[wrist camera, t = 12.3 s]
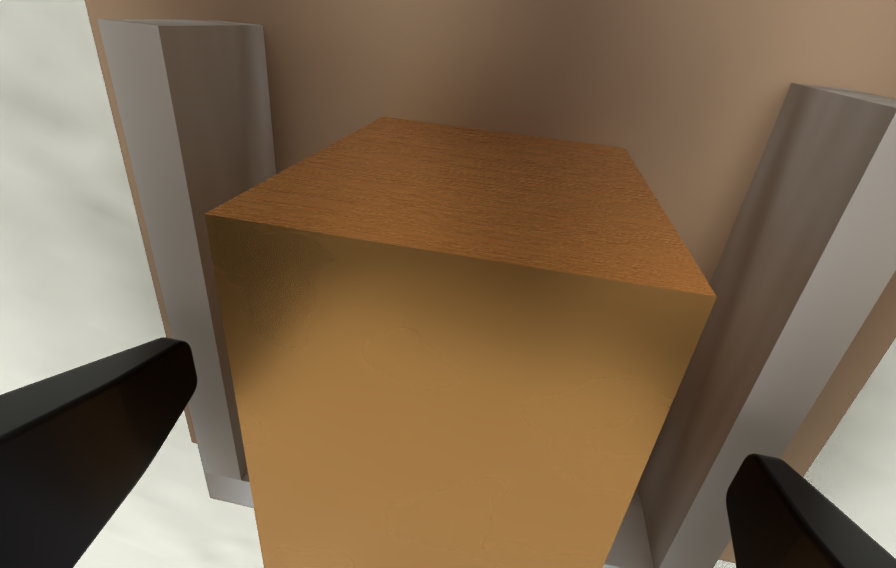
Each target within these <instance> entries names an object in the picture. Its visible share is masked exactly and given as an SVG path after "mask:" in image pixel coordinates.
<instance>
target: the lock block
mask: <svg viewBox="0 0 896 568" xmlns="http://www.w3.org/2000/svg"><path fill="white" fill-rule="evenodd" d="M205 220H206V226H207V232H208V238H209V244H210V250H211V256H212V262H213V268H214V274H215V280H216V286H217V292H218V297H219V303H220V309H221V315H222V321H223V327H224V333H225V339H226V345H227V351H228V357H229V363H230V369H231V375H232V380H233V386H234V392H235V398H236V404H237V410H238V416H239V422H240V428H241V434H242V440H243V446H244V452H245V458H246V463H247V469H248V475H249V481H250V487H251V493H252V499H253V505H254V511H255V517H256V523H257V529H258V535H259V541H260V546H261V552H262V558H263V564H264V568H603V566H604V563H605V561H606V558H607V556H608V554H609V551H610V549H611V547H612V544H613V542H614V539H615V537H616V535H617V532H618V530H619V528H620V525H621V523H622V521H623V518H624V516H625V513H626V511H627V509H628V506H629V504H630V502H631V499H632V497H633V494H634V492H635V490H636V487H637V485H638V483H639V480H640V478H641V476H642V473H643V471H644V468H645V466H646V464H647V461H648V459H649V457H650V454H651V452H652V450H653V447H654V445H655V442H656V440H657V438H658V435H659V433H660V431H661V428H662V426H663V423H664V421H665V419H666V416H667V414H668V412H669V409H670V407H671V405H672V402H673V400H674V397H675V395H676V393H677V390H678V388H679V386H680V383H681V381H682V379H683V376H684V374H685V371H686V369H687V367H688V364H689V362H690V360H691V357H692V355H693V352H694V350H695V348H696V345H697V343H698V341H699V338H700V336H701V334H702V331H703V329H704V326H705V324H706V322H707V319H708V317H709V315H710V312H711V310H712V308H713V305H714V303H715V300H716V298H717V296H716V294H715V293H714V291H713V290H712V288H711V286H710V285H709V283H708V281H707V280H706V278H705V277H704V275H703V273H702V272H701V270H700V268H699V267H698V265H697V264H696V262H695V260H694V259H693V257H692V255H691V254H690V252H689V250H688V249H687V247H686V246H685V244H684V242H683V241H682V239H681V237H680V236H679V234H678V233H677V231H676V229H675V228H674V226H673V224H672V223H671V221H670V220H669V218H668V216H667V215H666V213H665V211H664V210H663V208H662V207H661V205H660V203H659V202H658V200H657V198H656V197H655V195H654V193H653V192H652V190H651V189H650V187H649V185H648V184H647V182H646V180H645V179H644V177H643V176H642V174H641V172H640V171H639V169H638V167H637V166H636V164H635V163H634V161H633V159H632V158H631V156H630V154H629V153H628V151H627V150H626V148H621V147H613V146H606V145H598V144H590V143H582V142H575V141H567V140H559V139H552V138H544V137H536V136H528V135H521V134H513V133H505V132H498V131H490V130H482V129H474V128H467V127H459V126H451V125H444V124H436V123H428V122H421V121H413V120H405V119H397V118H390V117H380V118H378V119H377V120H375V121H373V122H371V123H369V124H367V125H366V126H364V127H362V128H360V129H358V130H357V131H355V132H353V133H351V134H349V135H347V136H346V137H344V138H342V139H340V140H338V141H336V142H335V143H333V144H331V145H329V146H327V147H326V148H324V149H322V150H320V151H318V152H316V153H315V154H313V155H311V156H309V157H307V158H305V159H304V160H302V161H300V162H298V163H296V164H295V165H293V166H291V167H289V168H287V169H285V170H284V171H282V172H280V173H278V174H276V175H274V176H273V177H271V178H269V179H267V180H265V181H264V182H262V183H260V184H258V185H256V186H254V187H253V188H251V189H249V190H247V191H245V192H243V193H242V194H240V195H238V196H236V197H234V198H233V199H231V200H229V201H227V202H225V203H223V204H222V205H220V206H218V207H216V208H214V209H213V210H211V211H209V212H207V213H205Z"/></svg>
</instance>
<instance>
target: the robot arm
mask: <svg viewBox="0 0 896 568" xmlns="http://www.w3.org/2000/svg"><path fill="white" fill-rule="evenodd" d="M197 380H198V379H197V373H196V369H195V364H194V359H193V355H192V350H191V347H190V345H189V344H188V343H187V342H185V341H182V340H177V339H172V338H159V339H156V340H153V341H150V342H148V343H145V344H142V345H139V346H136V347H134V348H131V349H128V350H125V351H122V352H120V353H117V354H114V355H111V356H108V357H106V358H103V359H100V360H97V361H94V362H92V363H89V364H86V365H83V366H80V367H78V368H75V369H72V370H69V371H66V372H64V373H61V374H58V375H55V376H52V377H50V378H47V379H44V380H41V381H38V382H35V383H33V384H30V385H27V386H24V387H21V388H19V389H16V390H13V391H10V392H7V393H5V394H2V395H0V568H73V567H74V566H75V564H76V563H77V562H78V560H79V559H80V558H81V556H82V555H83V554H84V552H85V551H86V550H87V548H88V547H89V546H90V545H91V543H92V542H93V541H94V539H95V538H96V537H97V535H98V534H99V533H100V531H101V530H102V529H103V527H104V526H105V525H106V523H107V522H108V521H109V519H110V518H111V517H112V515H113V514H114V513H115V511H116V510H117V509H118V507H119V506H120V505H121V504H122V502H123V501H124V500H125V498H126V497H127V496H128V494H129V493H130V492H131V490H132V489H133V488H134V486H135V485H136V484H137V482H138V481H139V479H140V478H141V477H142V475H143V474H144V472H145V471H146V469H147V468H148V466H149V465H150V463H151V462H152V460H153V459H154V457H155V456H156V454H157V452H158V451H159V449H160V448H161V446H162V444H163V443H164V441H165V440H166V438H167V436H168V435H169V433H170V431H171V430H172V428H173V427H174V425H175V423H176V422H177V420H178V418H179V417H180V415H181V414H182V412H183V410H184V409H185V407H186V406H187V404H188V402H189V401H190V399H191V397H192V396H193V394H194V392H195V390H196V387H197ZM726 508H727V514H728V520H729V526H730V532H731V538H732V544H733V550H734V556H735V562H736V568H896V559H895V558H894V557H893V556H892V555H891V554H890V553H888V552H887V551H886V550H885V549H884V548H883V547H882V546H880V545H879V544H878V543H877V542H876V541H875V540H874V539H872V538H871V537H870V536H869V535H868V534H867V533H866V532H865V531H863V530H862V529H861V528H860V527H859V526H858V525H857V524H855V523H854V522H853V521H852V520H851V519H850V518H849V517H848V516H846V515H845V514H844V513H843V512H842V511H841V510H840V509H838V508H837V507H836V506H835V505H834V504H833V503H832V502H830V501H829V500H828V499H827V498H826V497H825V496H824V495H823V494H821V493H820V492H819V491H818V490H817V489H816V488H815V487H813V486H812V485H811V484H810V483H809V482H808V481H807V480H806V479H804V478H803V477H802V476H801V475H800V474H799V473H798V472H796V471H795V470H794V469H793V468H792V467H791V466H790V465H789V464H787V463H786V462H785V461H783V460H782V459H779V458H777V457H772V456H766V455H761V454H756V453H753V454H749V455H748V456H746V458H745V459H744V460H743V462H742V464H741V466H740V468H739V469H738V471H737V473H736V475H735V476H734V478H733V480H732V482H731V484H730V485H729V487H728V490H727V493H726Z"/></svg>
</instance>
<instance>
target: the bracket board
mask: <svg viewBox="0 0 896 568" xmlns="http://www.w3.org/2000/svg"><path fill="white" fill-rule="evenodd" d="M85 4H86V8H87V12H88V16H89V20H90V24H91V28H92V33H93V37H94V41H95V45H96V49H97V53H98V57H99V61H100V65H101V70H102V74H103V78H104V82H105V86H106V90H107V94H108V98H109V103H110V107H111V111H112V115H113V119H114V123H115V127H116V131H117V135H118V140H119V144H120V148H121V152H122V156H123V160H124V164H125V168H126V173H127V177H128V181H129V185H130V189H131V193H132V197H133V201H134V205H135V210H136V214H137V218H138V222H139V226H140V230H141V234H142V238H143V243H144V247H145V251H146V255H147V259H148V263H149V267H150V271H151V275H152V280H153V284H154V288H155V292H156V296H157V300H158V304H159V308H160V312H161V317H162V321H163V325H164V329H165V333H166V337H167V338H172V339H177V340H182V341H185V342H187V343H188V344H189V345H190V347H191V350H192V355H193V359H194V364H195V369H196V373H197V379H198V380H197V387H196V390H195V392H194V394H193V396H192V397H191V399H190V401H189V402H188V404H187V406H186V407H185V409H184V411H185V415H186V420H187V424H188V428H189V432H190V436H191V440H192V442H193V443H197V444H198V448H199V453H200V457H201V461H202V465H203V470H204V474H205V478H206V482H207V487H208V491H209V495H210V498H213V499H217V500H221V501H226V502H230V503H234V504H238V505H242V506H247V507H251V508H254V505H253V499H252V493H251V487H250V481H249V475H248V469H247V463H246V458H245V452H244V446H243V440H242V434H241V428H240V422H239V416H238V410H237V404H236V398H235V392H234V386H233V380H232V375H231V369H230V363H229V357H228V351H227V345H226V339H225V333H224V327H223V321H222V315H221V309H220V303H219V297H218V292H217V286H216V280H215V274H214V268H213V262H212V256H211V250H210V244H209V238H208V232H207V226H206V220H205V213H207V212H209V211H211V210H213V209H214V208H216V207H218V206H220V205H222V204H223V203H225V202H227V201H229V200H231V199H233V198H234V197H236V196H238V195H240V194H242V193H243V192H245V191H247V190H249V189H251V188H253V187H254V186H256V185H258V184H260V183H262V182H264V181H265V180H267V179H269V178H271V177H273V176H274V175H276V174H278V173H280V172H282V171H284V170H285V169H287V168H289V167H291V166H293V165H295V164H296V163H298V162H300V161H302V160H304V159H305V158H307V157H309V156H311V155H313V154H315V153H316V152H318V151H320V150H322V149H324V148H326V147H327V146H329V145H331V144H333V143H335V142H336V141H338V140H340V139H342V138H344V137H346V136H347V135H349V134H351V133H353V132H355V131H357V130H358V129H360V128H362V127H364V126H366V125H367V124H369V123H371V122H373V121H375V120H377V119H378V118H380V117H390V118H397V119H405V120H413V121H421V122H428V123H436V124H444V125H451V126H459V127H467V128H474V129H482V130H490V131H498V132H505V133H513V134H521V135H528V136H536V137H544V138H552V139H559V140H567V141H575V142H582V143H590V144H598V145H606V146H613V147H621V148H626V150H627V151H628V153H629V154H630V156H631V158H632V159H633V161H634V163H635V164H636V166H637V167H638V169H639V171H640V172H641V174H642V176H643V177H644V179H645V180H646V182H647V184H648V185H649V187H650V189H651V190H652V192H653V193H654V195H655V197H656V198H657V200H658V202H659V203H660V205H661V207H662V208H663V210H664V211H665V213H666V215H667V216H668V218H669V220H670V221H671V223H672V224H673V226H674V228H675V229H676V231H677V233H678V234H679V236H680V237H681V239H682V241H683V242H684V244H685V246H686V247H687V249H688V250H689V252H690V254H691V255H692V257H693V259H694V260H695V262H696V264H697V265H698V267H699V268H700V270H701V272H702V273H703V275H704V277H705V278H706V280H707V281H708V283H709V285H710V286H711V288H712V290H713V291H714V293H715V294H716V296H717V298H716V300H715V303H714V305H713V308H712V310H711V312H710V315H709V317H708V319H707V322H706V324H705V326H704V329H703V331H702V334H701V336H700V338H699V341H698V343H697V345H696V348H695V350H694V352H693V355H692V357H691V360H690V362H689V364H688V367H687V369H686V371H685V374H684V376H683V379H682V381H681V383H680V386H679V388H678V390H677V393H676V395H675V397H674V400H673V402H672V405H671V407H670V409H669V412H668V414H667V416H666V419H665V421H664V423H663V426H662V428H661V431H660V433H659V435H658V438H657V440H656V442H655V445H654V447H653V450H652V452H651V454H650V457H649V459H648V461H647V464H646V466H645V468H644V471H643V473H642V476H641V478H640V480H639V483H638V485H637V487H636V490H635V492H634V494H633V497H632V499H631V502H630V504H629V506H628V509H627V511H626V513H625V516H624V518H623V521H622V523H621V525H620V528H619V530H618V532H617V535H616V537H615V539H614V542H613V544H612V547H611V549H610V551H609V554H608V556H607V558H606V561H605V563H604V566H603V568H713V567H714V566H715V564H716V562H717V561H718V560H723V561H727V562H732V563H736V562H735V556H734V550H733V544H732V538H731V532H730V526H729V520H728V514H727V508H726V493H727V490H728V487H729V485H730V484H731V482H732V480H733V478H734V476H735V475H736V473H737V471H738V469H739V468H740V466H741V464H742V462H743V460H744V459H745V458H746V456H748V455H749V454H753V453H756V454H761V455H766V456H772V457H777V458H779V459H782V460H783V461H785V462H786V463H787V464H789V465H790V466H791V467H792V468H793V469H794V470H795V471H796V472H798V473H799V474H800V475H801V476H802V477H803V476H804V475H805V473H806V472H807V470H808V469H809V467H810V466H811V464H812V463H813V461H814V460H815V458H816V457H817V455H818V454H819V452H820V451H821V449H822V448H823V446H824V445H825V443H826V442H827V440H828V439H829V437H830V436H831V434H832V433H833V431H834V430H835V428H836V427H837V425H838V423H839V422H840V420H841V419H842V417H843V416H844V414H845V413H846V411H847V410H848V408H849V407H850V405H851V404H852V402H853V401H854V399H855V398H856V396H857V395H858V393H859V392H860V390H861V389H862V387H863V386H864V384H865V383H866V381H867V380H868V378H869V377H870V375H871V374H872V372H873V371H874V369H875V368H876V366H877V365H878V363H879V362H880V360H881V359H882V357H883V356H884V354H885V353H886V351H887V350H888V348H889V347H890V345H891V344H892V342H893V341H894V339H895V338H896V0H85Z"/></svg>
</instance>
